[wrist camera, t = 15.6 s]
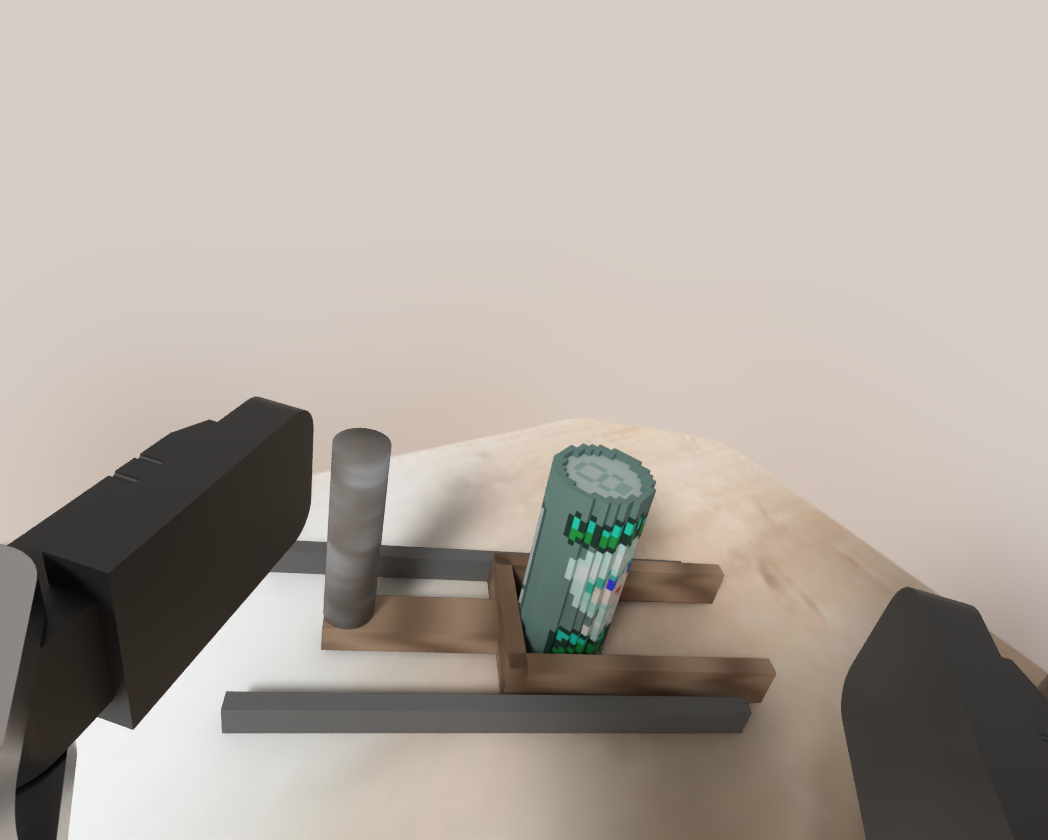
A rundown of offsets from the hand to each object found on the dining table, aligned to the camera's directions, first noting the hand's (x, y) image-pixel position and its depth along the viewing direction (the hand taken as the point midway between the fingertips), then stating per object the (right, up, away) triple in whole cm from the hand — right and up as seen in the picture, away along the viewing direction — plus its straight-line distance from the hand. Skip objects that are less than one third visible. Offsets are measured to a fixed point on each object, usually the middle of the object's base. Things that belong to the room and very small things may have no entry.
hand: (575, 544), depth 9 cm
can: (+1, -14, +39) cm, 42 cm away
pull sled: (0, -14, +39) cm, 41 cm away
